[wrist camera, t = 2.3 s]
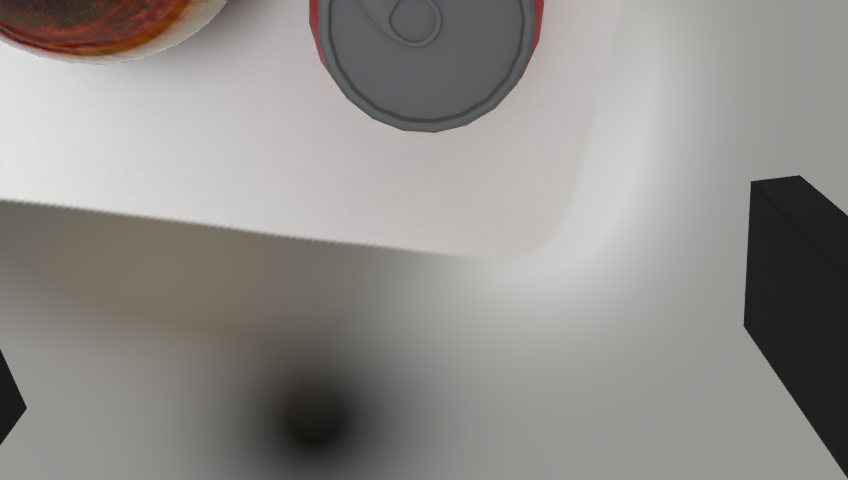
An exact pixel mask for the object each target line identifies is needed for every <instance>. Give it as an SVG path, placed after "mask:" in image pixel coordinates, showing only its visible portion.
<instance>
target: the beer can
mask: <svg viewBox="0 0 848 480" xmlns="http://www.w3.org/2000/svg"><path fill="white" fill-rule="evenodd" d="M543 7H544V0H309V24H310V27H311V30H312V34H313V37H314V40H315V43H316V47H317V50H318V53H319V56H320V59H321V61H322V63H323V65H324V66H325V68H326V69H327V71H328V72H329V73H330V75H331V76H332V78H333V79H334V81H335V82H336V84H337V85H338V87H339V88H340V90H341V91H342V92H343V93H344V95H345V96H346V98H347V99H348V100H350V101H351V102H352V103H353V104H355V105H356V106H357V107H358V108H360V109H361V110H362V111H363V112H365V113H366V114H367V115H368V116H370V117H371V118H372V119H374V120H377V121H380V122H382V123H385V124H387V125H390V126H393V127H395V128H398V129H400V130H403V131H418V132H432V133H436V132H440V131H444V130H448V129H453V128H457V127H461V126H465V125H468V124H469V123H471V122H473V121H474V120H476V119H478V118H480V117H481V116H483V115H485V114H486V113H488V112H490V111H491V110H493V109H495V108H496V107H497V105H498V104H499V103H500V102H501V101H502V100H503V99H504V98H505V97H506V96H507V94H508V93H509V92H510V91H511V90H512V89H513V88H514V87H515V86H516V84H517V83H518V81H519V80H520V78H521V77H522V76H523V73H524V71H525V69H526V67H527V65H528V63H529V61H530V58H531V56H532V54H533V52H534V50H535V48H536V46H537V43H538V41H539V37H540V29H541V22H542V14H543Z"/></svg>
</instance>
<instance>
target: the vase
mask: <svg viewBox="0 0 848 480" xmlns="http://www.w3.org/2000/svg"><path fill="white" fill-rule="evenodd" d="M228 1H229V0H0V41H2V42H4V43H6V44H8V45H10V46H12V47H15V48H17V49H20V50H23V51H26V52H29V53H31V54H34V55H37V56H40V57H44V58H49V59H54V60H58V61H63V62H68V63H79V64H97V65H104V64H114V63H123V62H131V61H135V60H139V59H142V58H146V57H150V56H153V55H156V54H159V53H162V52H164V51H166V50H168V49H170V48H172V47H174V46H176V45H178V44H181V43H183V42H184V41H185V40H187V39H188V38H190V37H191V36H193V35H194V34H195V33H197V32H198V31H200V30H201V29H202V28H204V27H205V26H206V25H207V24H208V23H209V22H210V21H211V20H212V19H213V18H214V17H215V16H216V15H217V14H218V13H219V12H220V11H221V10H222V9H223V8H224V7H225V5H226V4H227V2H228Z"/></svg>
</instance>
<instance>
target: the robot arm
mask: <svg viewBox="0 0 848 480" xmlns="http://www.w3.org/2000/svg"><path fill="white" fill-rule="evenodd" d="M745 291H746V292H745V311H744V327H745V329H746V330H747V332H748V333H749V334H750V336H751V338H752V339H753V340H754V342H755V343H756V345H757V346H758V348H759V349H760V350H761V352H762V354H763V355H764V357H765V358H766V360H767V361H768V362H769V364H770V365H771V367H772V368H773V370H774V371H775V373H776V374H777V376H778V377H779V379H780V380H781V381H782V383H783V384H784V386H785V387H786V389H787V390H788V392H789V393H790V394H791V396H792V398H793V399H794V400H795V402H796V403H797V405H798V406H799V408H800V409H801V411H802V412H803V413H804V415H805V417H806V418H807V419H808V421H809V422H810V424H811V425H812V427H813V428H814V430H815V431H816V433H817V434H818V436H819V437H820V439H821V440H822V441H823V443H824V444H825V446H826V447H827V449H828V450H829V452H830V453H831V455H832V456H833V458H834V459H835V461H836V462H837V463H838V465H839V466H840V468H841V469H842V470H843V472H844V474H845V475H846V476H847V478H848V216H847V215H846V214H845V213H844V212H843V211H841V210H840V209H839V208H838V207H837V206H836V205H834V204H833V203H832V202H831V201H829V200H828V199H827V198H826V197H825V196H824V195H823V194H821V193H820V192H819V191H818V190H816V189H815V188H814V187H813V186H812V185H811V184H809V183H808V182H807V181H806V180H805V179H803V178H802V177H801V176H800V175H799V176H790V177H782V178H775V179H767V180H759V181H751V192H750V212H749V231H748V251H747V273H746V290H745ZM26 408H27V407H26V405H25V403H24V401H23V398H22V397H21V394H20V392H19V390H18V387H17V385H16V383H15V381H14V379H13V376H12V374H11V372H10V370H9V368H8V365H7V363H6V361H5V359H4V357H3V354H2V353H1V350H0V445H1V443H2V442H3V441H4V439H5V438H6V436H7V435H8V434H9V432H10V431H11V430H12V428H13V427H14V425H15V424H16V422H17V421H18V420H19V418H20V417H21V416H22V414H23V413H24V411H25V410H26Z"/></svg>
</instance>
